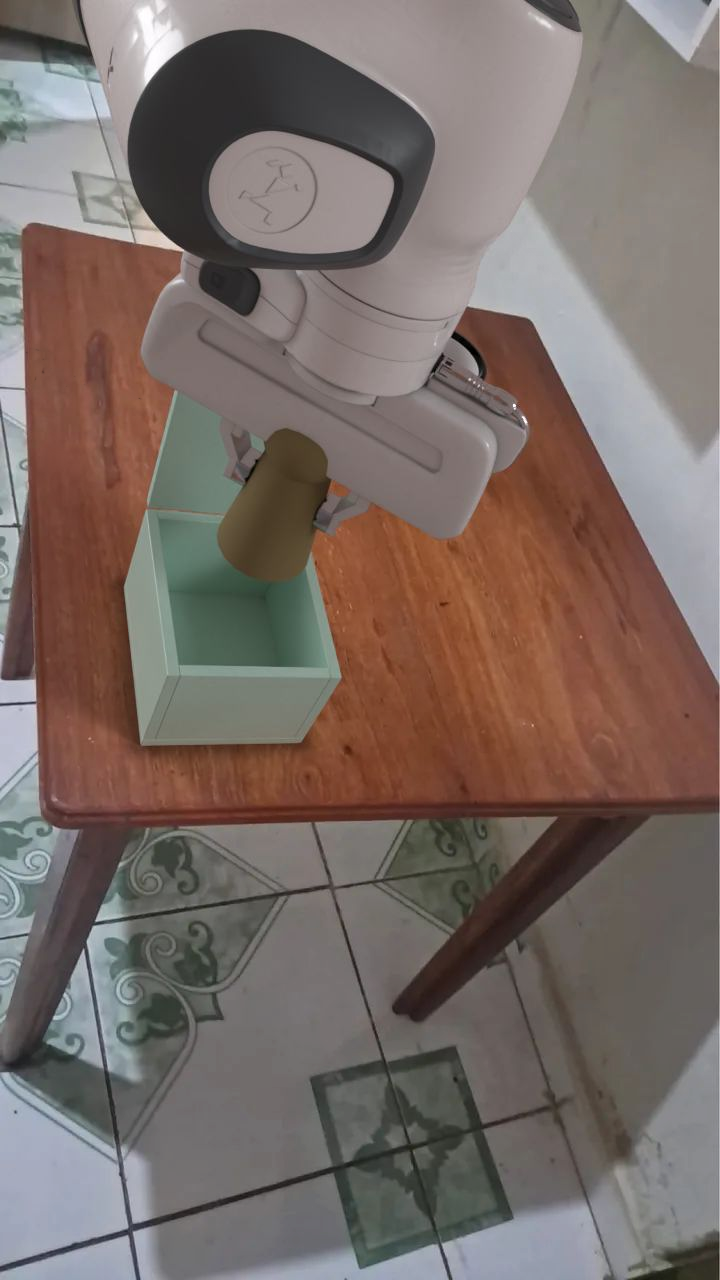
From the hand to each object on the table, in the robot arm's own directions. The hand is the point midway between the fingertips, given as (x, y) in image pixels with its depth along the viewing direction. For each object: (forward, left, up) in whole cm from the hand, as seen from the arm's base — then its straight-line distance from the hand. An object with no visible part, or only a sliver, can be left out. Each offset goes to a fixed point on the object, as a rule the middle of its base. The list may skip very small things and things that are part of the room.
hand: (281, 500), depth 57 cm
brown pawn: (0, 0, -4) cm, 4 cm away
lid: (+3, +6, -1) cm, 7 cm away
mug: (+36, +17, -18) cm, 43 cm away
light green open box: (0, 0, -18) cm, 18 cm away
